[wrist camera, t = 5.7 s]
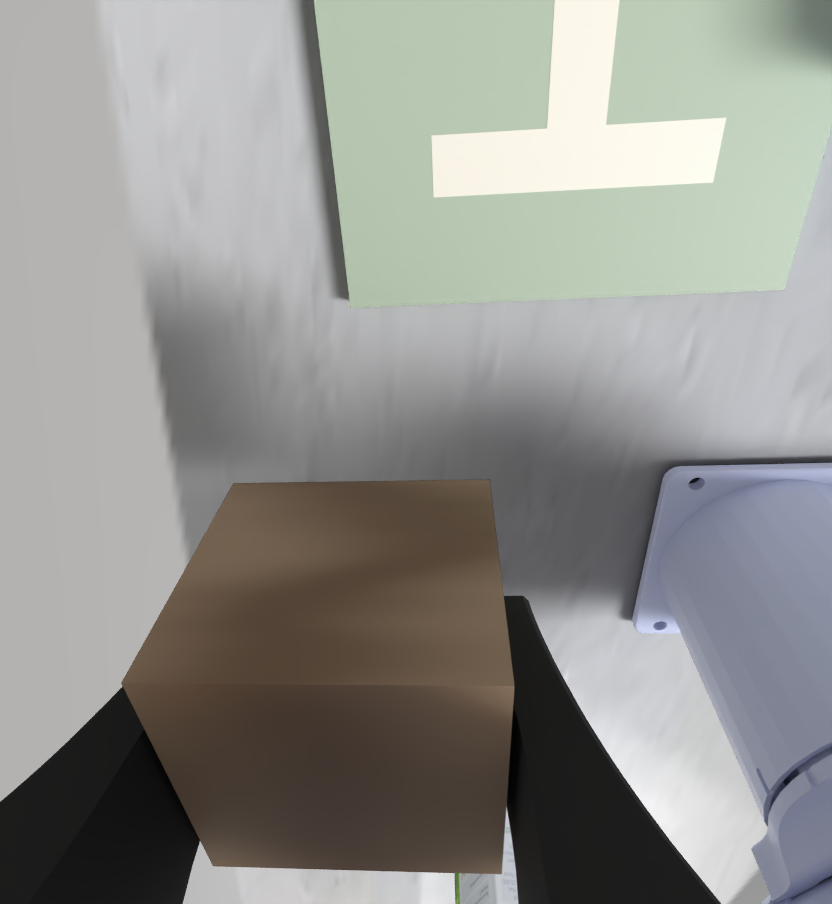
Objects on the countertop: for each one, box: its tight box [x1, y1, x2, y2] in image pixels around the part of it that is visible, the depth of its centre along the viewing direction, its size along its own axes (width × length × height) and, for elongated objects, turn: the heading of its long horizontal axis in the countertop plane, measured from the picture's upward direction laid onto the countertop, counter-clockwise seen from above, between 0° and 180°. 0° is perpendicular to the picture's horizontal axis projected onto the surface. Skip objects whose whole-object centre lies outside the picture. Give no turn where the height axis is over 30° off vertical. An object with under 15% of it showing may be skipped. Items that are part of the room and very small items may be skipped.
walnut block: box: [122, 479, 515, 874], centre depth 10 cm, size 5×5×4 cm
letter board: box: [314, 0, 832, 308], centre depth 13 cm, size 12×12×1 cm
